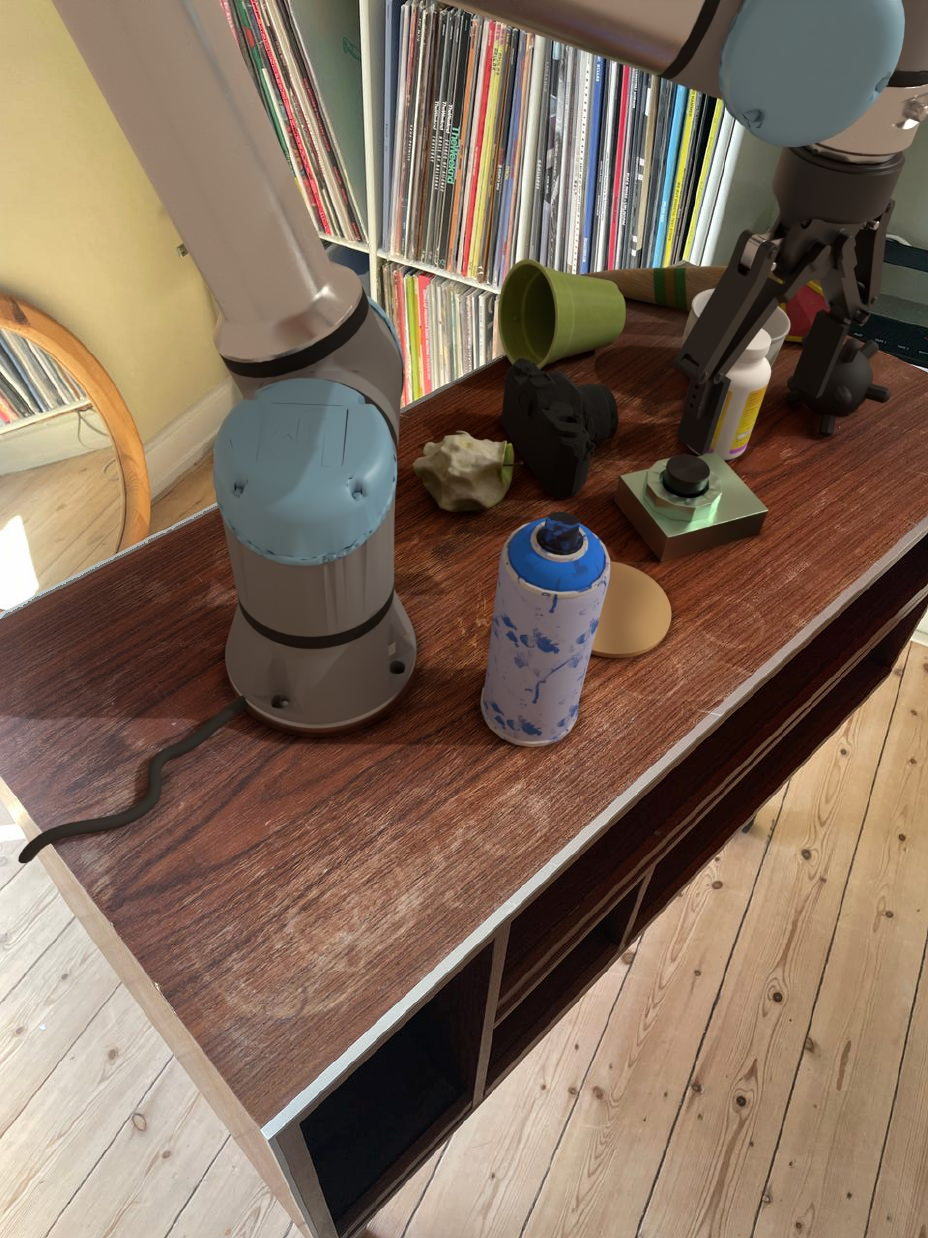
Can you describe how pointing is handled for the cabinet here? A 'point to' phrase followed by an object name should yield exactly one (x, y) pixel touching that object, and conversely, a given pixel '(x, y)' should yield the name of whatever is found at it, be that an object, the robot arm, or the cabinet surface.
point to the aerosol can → (543, 629)
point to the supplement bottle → (742, 399)
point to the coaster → (631, 614)
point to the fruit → (466, 472)
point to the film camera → (556, 424)
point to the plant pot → (556, 313)
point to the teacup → (774, 327)
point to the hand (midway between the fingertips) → (751, 415)
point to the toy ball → (842, 386)
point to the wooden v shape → (687, 282)
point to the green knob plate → (690, 510)
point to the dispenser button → (686, 476)
